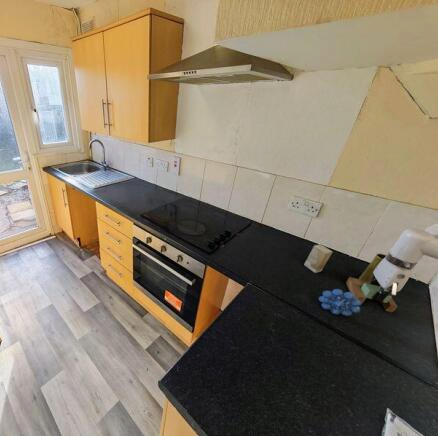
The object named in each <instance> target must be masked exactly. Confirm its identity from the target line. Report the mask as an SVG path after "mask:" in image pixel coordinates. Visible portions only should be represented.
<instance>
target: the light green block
mask: <svg viewBox="0 0 438 436" xmlns="http://www.w3.org/2000/svg"><path fill="white" fill-rule="evenodd" d="M380 288H381V287H380V286H376V285H372V284H368V283H364V284H363V286H362V287H361V290H362V292H363V294H364V296H365V297H366V299H370V300H373V299H372V298H373V296H374V295H375V294H376V292H377V291H378V292H379V290H380ZM387 290H388V289H384V291H387ZM391 298H393V296H387V297H386V298H385V299H384V301H383V302H385V303H387V302H388V301H389V300H390V299H391Z"/></svg>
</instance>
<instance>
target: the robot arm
mask: <svg viewBox="0 0 438 436" xmlns="http://www.w3.org/2000/svg"><path fill="white" fill-rule="evenodd" d="M385 255H386V257H385V258H384V259H383V260H382V261H381V262H380V263H379V264H378V266H377V267H376V268H375V269H374V272H373V278H372V279H371V281H372V282H370V283H369V284H372V285H376V286H380V285H381V288H380V290H379V292H378V291H377V292H376V294H375V295H374V296H373V298H372V299H371V300H374V301H378V302H380V303H381V302H383V301H384V299H385V298H386V297H387V296H392V297H396V296H397V293H399V292H401V290H402V289H403V287H404V286H405V285H406V283H407V282H408V280H409V279H410V277H411V275H412V270H414V268H415V266H417V264H418V263H419V261H420V260H421V259H422V258H423V257H424V256H427V257H430V258H433V259H436V260H438V222H437V223H435V224H432V225H430V226H428V227H427V228H424V229H419V228H415V227H409V228H406V229H405V230H403V232H401V234H400V235H399V237H398V238H397V240H396V241H395V242H394V244H393V245H392V247H391V248H390V250H388V252H387V254H385ZM384 289H387V291H384Z"/></svg>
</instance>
